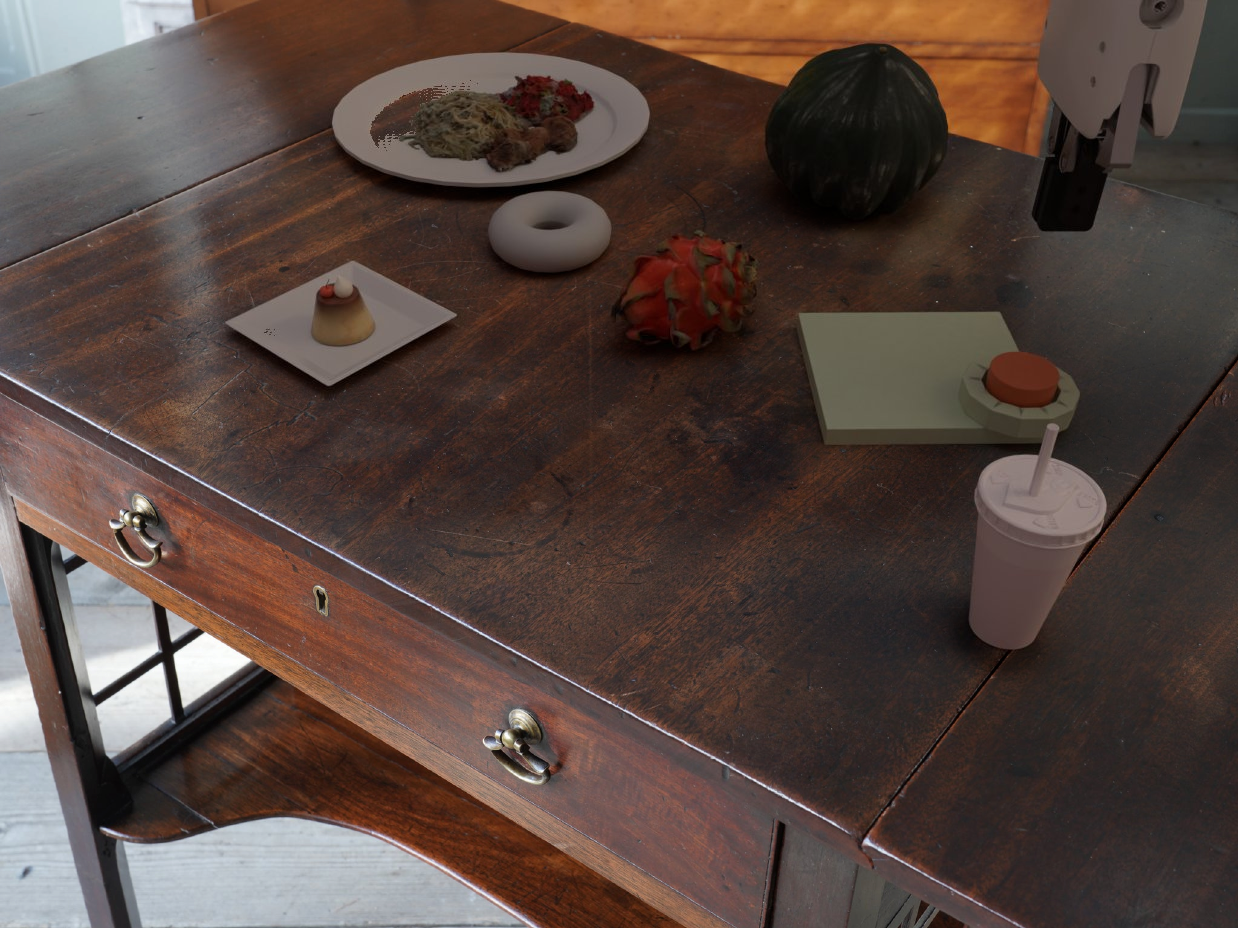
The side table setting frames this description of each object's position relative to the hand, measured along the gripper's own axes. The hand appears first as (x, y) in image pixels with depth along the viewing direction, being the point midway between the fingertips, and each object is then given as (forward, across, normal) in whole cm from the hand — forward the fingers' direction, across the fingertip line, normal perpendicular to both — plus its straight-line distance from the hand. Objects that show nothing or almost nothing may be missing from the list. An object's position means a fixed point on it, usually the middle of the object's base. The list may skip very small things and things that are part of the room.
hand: (1060, 224), depth 73 cm
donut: (+15, +24, +31) cm, 42 cm away
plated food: (+15, +46, +37) cm, 61 cm away
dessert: (+15, +12, +46) cm, 50 cm away
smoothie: (+15, -18, +5) cm, 24 cm away
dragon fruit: (+15, +10, +21) cm, 28 cm away
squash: (+15, +32, +5) cm, 36 cm away
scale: (+15, +4, +5) cm, 16 cm away
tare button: (+12, 0, 0) cm, 12 cm away
